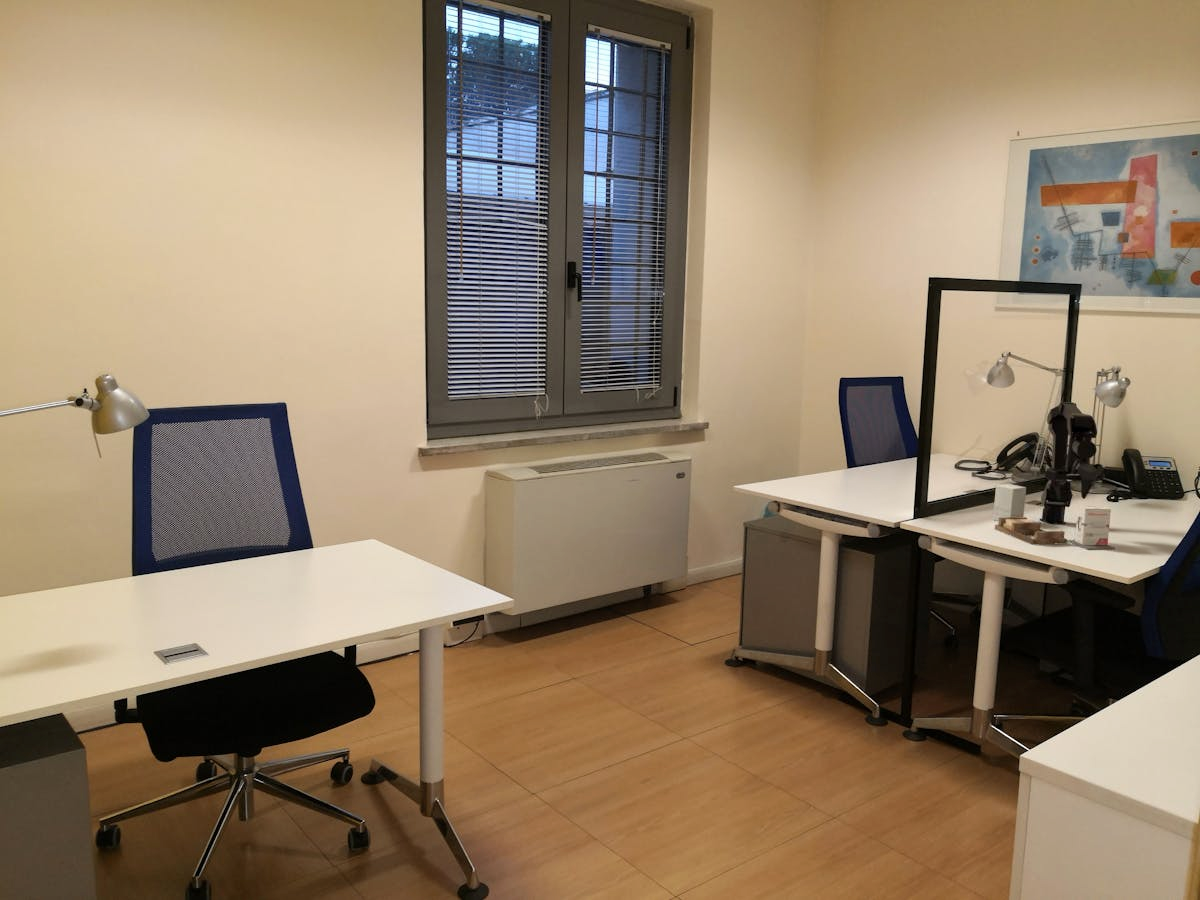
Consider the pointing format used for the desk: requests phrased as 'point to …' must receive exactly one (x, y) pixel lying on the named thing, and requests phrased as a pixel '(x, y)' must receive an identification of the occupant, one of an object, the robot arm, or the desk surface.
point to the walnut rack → (1029, 531)
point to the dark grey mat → (1091, 546)
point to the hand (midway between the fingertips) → (1071, 498)
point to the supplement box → (1009, 501)
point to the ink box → (1092, 525)
